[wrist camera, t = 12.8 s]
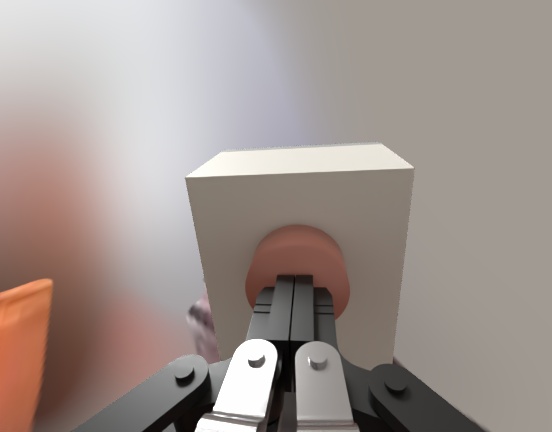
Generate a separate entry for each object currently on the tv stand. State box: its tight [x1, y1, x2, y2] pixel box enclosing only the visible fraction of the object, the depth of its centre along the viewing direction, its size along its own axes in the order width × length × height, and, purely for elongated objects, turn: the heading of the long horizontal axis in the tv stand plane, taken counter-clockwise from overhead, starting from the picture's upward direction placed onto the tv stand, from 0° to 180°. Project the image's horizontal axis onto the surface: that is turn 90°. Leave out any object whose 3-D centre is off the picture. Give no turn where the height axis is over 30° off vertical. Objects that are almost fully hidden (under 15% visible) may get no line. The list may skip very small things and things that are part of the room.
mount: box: [185, 142, 415, 371], centre depth 20 cm, size 10×7×20 cm
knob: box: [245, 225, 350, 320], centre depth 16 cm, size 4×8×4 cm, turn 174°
